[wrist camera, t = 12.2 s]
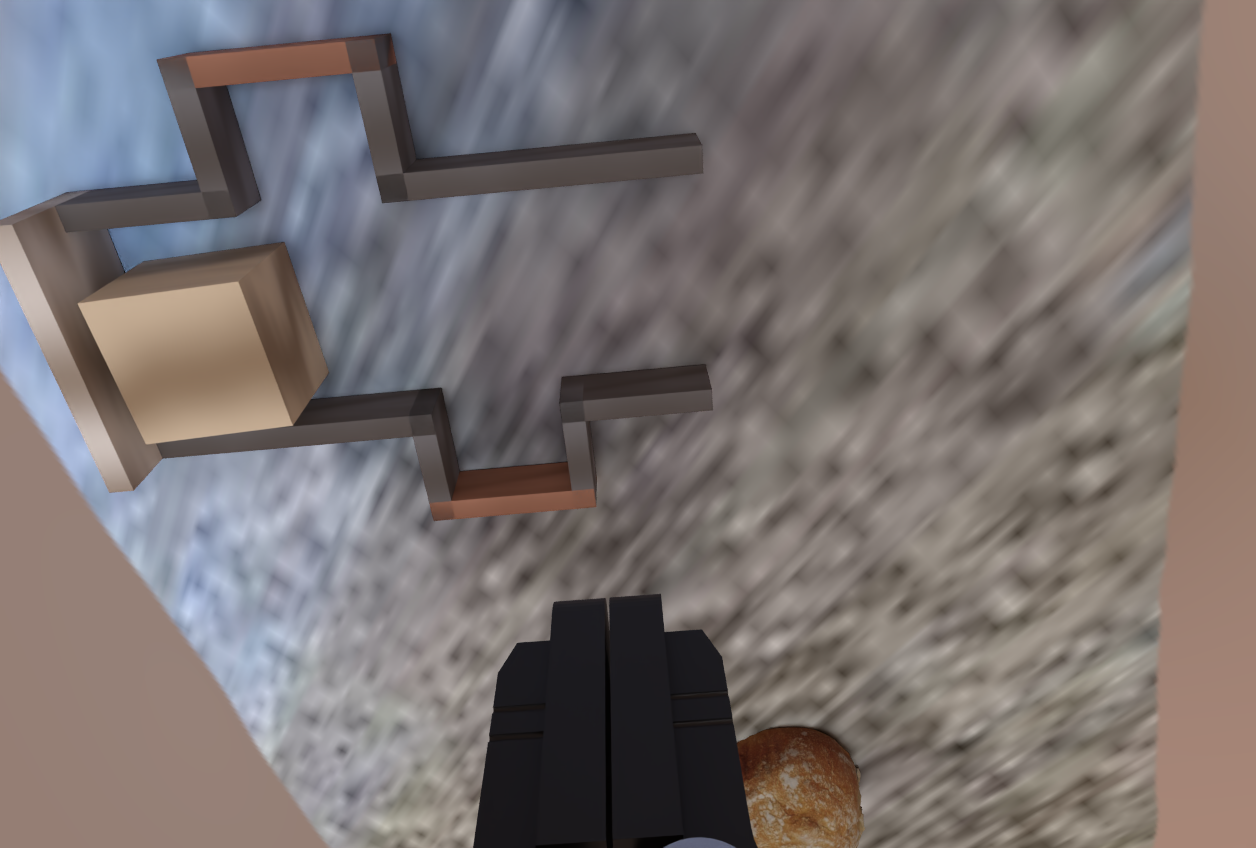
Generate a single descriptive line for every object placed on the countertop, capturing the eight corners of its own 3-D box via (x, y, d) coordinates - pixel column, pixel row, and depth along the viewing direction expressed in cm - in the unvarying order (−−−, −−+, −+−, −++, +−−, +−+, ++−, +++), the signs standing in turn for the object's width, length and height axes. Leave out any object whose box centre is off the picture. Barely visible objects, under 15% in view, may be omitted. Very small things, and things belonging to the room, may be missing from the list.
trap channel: (15, 69, 30) (-84, 87, 26) (689, 4, 30) (704, 10, 25) (199, 511, 40) (150, 578, 36) (709, 467, 40) (723, 529, 35)
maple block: (144, 260, 34) (77, 303, 30) (285, 241, 34) (238, 281, 29) (199, 388, 37) (145, 444, 33) (329, 371, 37) (292, 425, 32)
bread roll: (831, 765, 56) (916, 852, 49) (711, 861, 54) (782, 966, 47) (790, 669, 51) (877, 750, 45) (657, 768, 49) (727, 870, 42)
